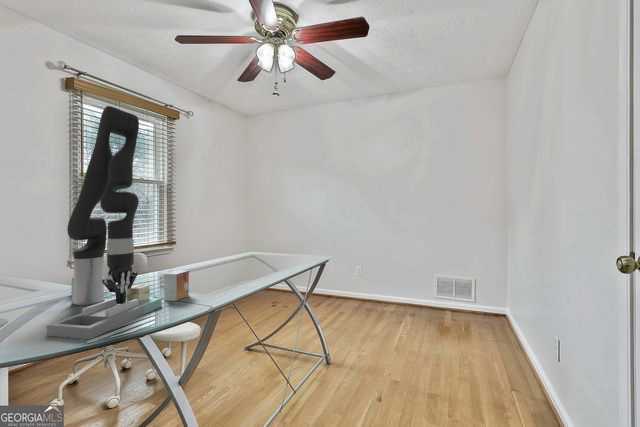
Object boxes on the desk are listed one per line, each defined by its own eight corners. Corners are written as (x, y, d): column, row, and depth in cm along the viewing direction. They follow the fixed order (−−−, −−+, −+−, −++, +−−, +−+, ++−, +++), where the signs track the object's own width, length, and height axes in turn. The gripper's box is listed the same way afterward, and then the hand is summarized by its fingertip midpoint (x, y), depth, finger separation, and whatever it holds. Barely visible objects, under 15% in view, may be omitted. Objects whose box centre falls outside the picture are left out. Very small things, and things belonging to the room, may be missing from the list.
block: (126, 302, 107) (126, 287, 107) (137, 298, 112) (137, 284, 112) (139, 302, 106) (139, 288, 106) (149, 298, 111) (149, 285, 111)
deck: (46, 335, 85) (46, 318, 85) (127, 304, 114) (127, 291, 114) (90, 339, 83) (90, 321, 83) (161, 306, 112) (161, 292, 112)
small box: (176, 301, 118) (176, 274, 118) (163, 300, 119) (163, 273, 119) (189, 295, 126) (189, 270, 125) (177, 295, 127) (177, 269, 127)
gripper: (125, 249, 109) (126, 297, 109) (93, 254, 96) (93, 309, 96) (144, 249, 108) (145, 298, 108) (114, 254, 95) (115, 310, 95)
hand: (121, 303), depth 102 cm, fingers closed
